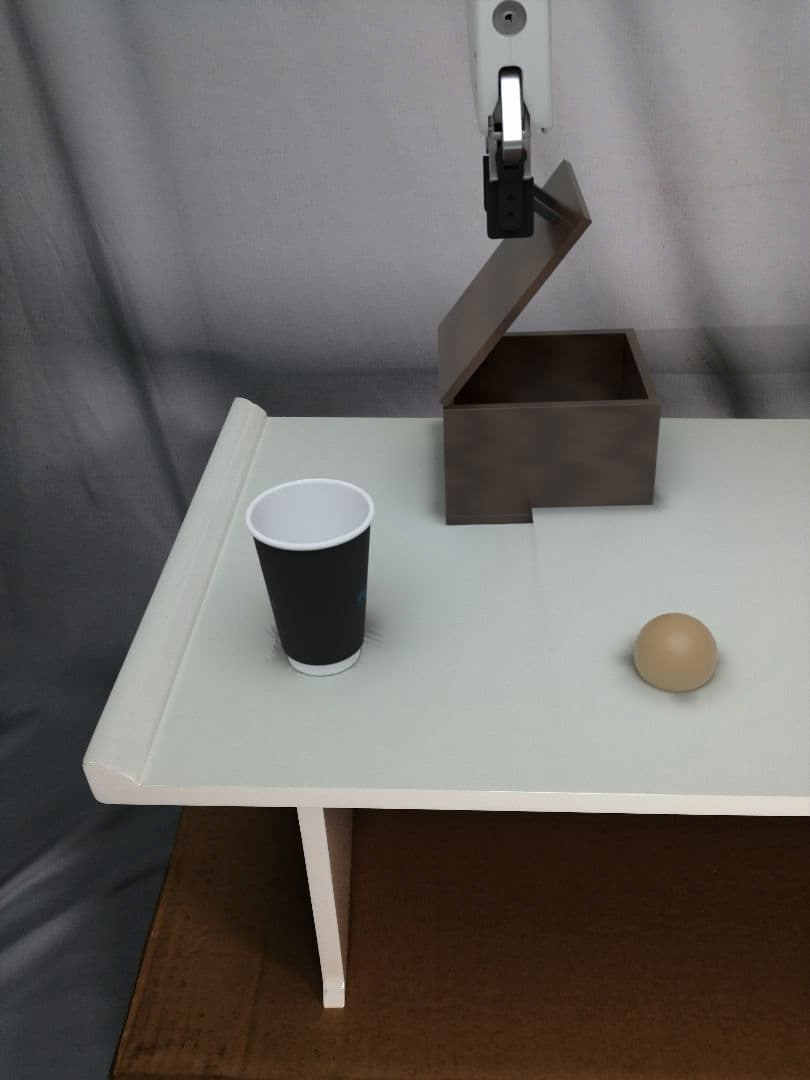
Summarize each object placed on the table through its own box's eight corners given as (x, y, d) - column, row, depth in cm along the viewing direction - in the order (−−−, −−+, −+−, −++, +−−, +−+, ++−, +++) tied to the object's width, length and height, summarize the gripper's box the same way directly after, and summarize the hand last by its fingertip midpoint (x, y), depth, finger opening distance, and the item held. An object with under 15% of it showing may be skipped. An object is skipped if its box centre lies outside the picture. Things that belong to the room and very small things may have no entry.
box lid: (571, 163, 88) (517, 124, 86) (592, 222, 77) (530, 177, 75) (444, 331, 96) (392, 297, 94) (446, 407, 84) (387, 370, 83)
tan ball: (704, 658, 75) (712, 595, 72) (720, 711, 71) (729, 645, 68) (625, 660, 75) (630, 597, 72) (637, 712, 71) (643, 647, 68)
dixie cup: (408, 656, 76) (401, 512, 70) (307, 709, 73) (291, 561, 67) (338, 602, 82) (326, 464, 76) (240, 648, 78) (219, 507, 72)
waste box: (626, 435, 100) (633, 327, 95) (651, 519, 89) (661, 403, 84) (443, 440, 101) (440, 334, 96) (445, 525, 90) (442, 409, 84)
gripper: (578, -49, 66) (572, 262, 76) (553, -79, 81) (551, 186, 91) (446, -40, 67) (457, 268, 77) (444, -72, 81) (453, 191, 91)
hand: (508, 220), depth 84 cm, fingers closed on box lid, 5 cm apart
